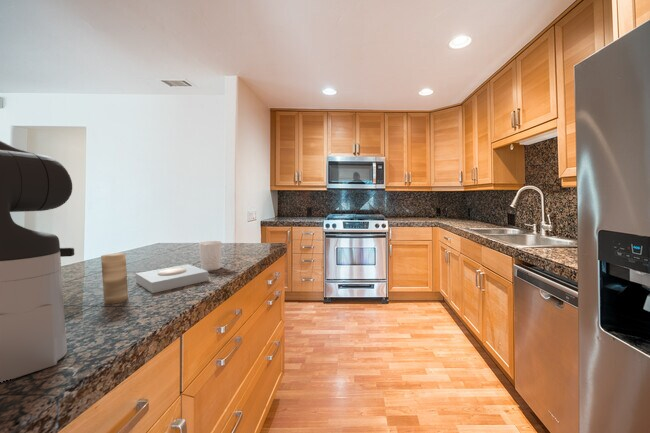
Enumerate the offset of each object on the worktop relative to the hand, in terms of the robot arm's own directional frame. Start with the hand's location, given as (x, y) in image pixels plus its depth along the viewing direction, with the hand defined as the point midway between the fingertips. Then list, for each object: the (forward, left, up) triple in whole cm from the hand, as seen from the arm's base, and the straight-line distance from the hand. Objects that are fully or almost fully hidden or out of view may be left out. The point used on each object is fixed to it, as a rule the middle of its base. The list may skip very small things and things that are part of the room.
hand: (61, 255), depth 68 cm
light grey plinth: (+1, -25, -13) cm, 28 cm away
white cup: (+8, -41, -13) cm, 44 cm away
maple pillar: (-6, -9, -13) cm, 17 cm away
